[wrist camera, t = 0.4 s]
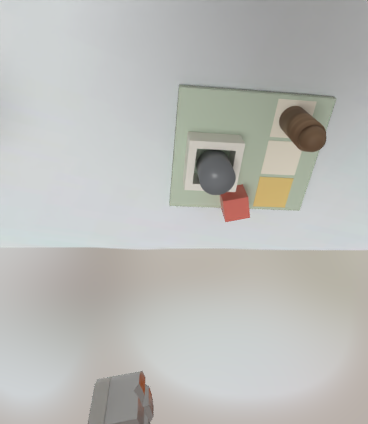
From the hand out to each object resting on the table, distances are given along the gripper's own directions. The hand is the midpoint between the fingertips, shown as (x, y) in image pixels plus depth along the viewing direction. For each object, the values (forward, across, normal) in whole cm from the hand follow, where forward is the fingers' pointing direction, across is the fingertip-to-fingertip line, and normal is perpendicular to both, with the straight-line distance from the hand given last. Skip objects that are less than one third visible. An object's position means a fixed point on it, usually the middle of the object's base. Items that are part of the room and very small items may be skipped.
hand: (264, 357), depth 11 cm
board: (+38, -7, +7) cm, 39 cm away
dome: (+35, -2, +6) cm, 35 cm away
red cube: (+38, -4, +13) cm, 40 cm away
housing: (+37, -2, +6) cm, 38 cm away
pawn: (+36, -14, +3) cm, 39 cm away
